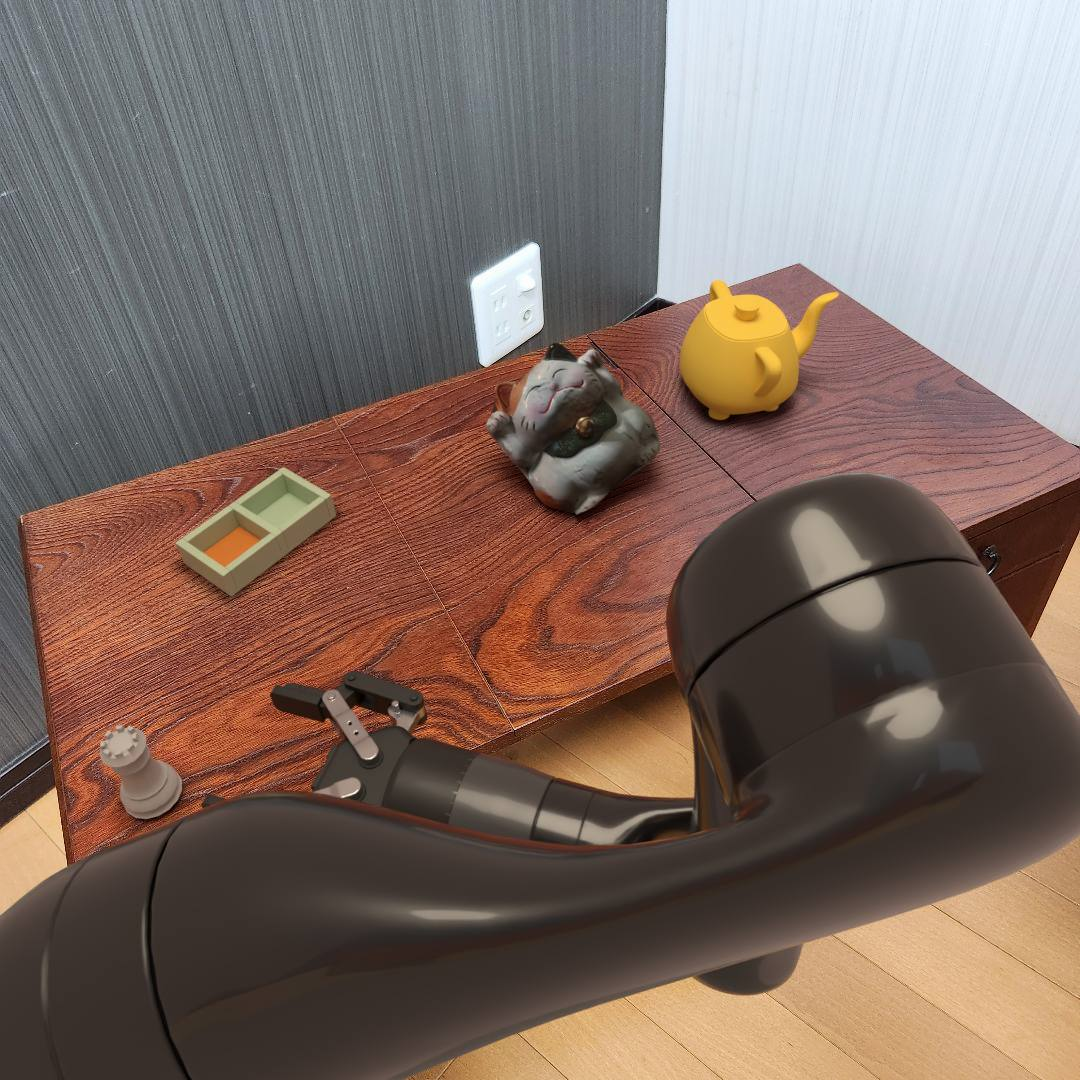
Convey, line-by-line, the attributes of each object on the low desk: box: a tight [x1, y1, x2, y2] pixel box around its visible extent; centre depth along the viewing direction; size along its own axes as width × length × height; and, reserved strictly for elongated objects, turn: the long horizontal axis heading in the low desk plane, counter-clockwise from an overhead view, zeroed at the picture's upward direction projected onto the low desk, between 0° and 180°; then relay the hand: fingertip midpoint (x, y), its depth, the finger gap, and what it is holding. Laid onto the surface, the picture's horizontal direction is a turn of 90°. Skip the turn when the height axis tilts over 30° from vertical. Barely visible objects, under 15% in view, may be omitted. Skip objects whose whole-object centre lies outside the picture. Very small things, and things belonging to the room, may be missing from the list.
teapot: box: [678, 279, 840, 421], centre depth 101 cm, size 14×14×12 cm
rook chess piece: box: [99, 724, 183, 820], centre depth 69 cm, size 4×4×8 cm
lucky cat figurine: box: [485, 342, 661, 516], centre depth 93 cm, size 15×12×14 cm
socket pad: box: [175, 466, 337, 598], centre depth 91 cm, size 13×7×3 cm, turn 142°
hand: (242, 749), depth 61 cm, fingers open, 8 cm apart
